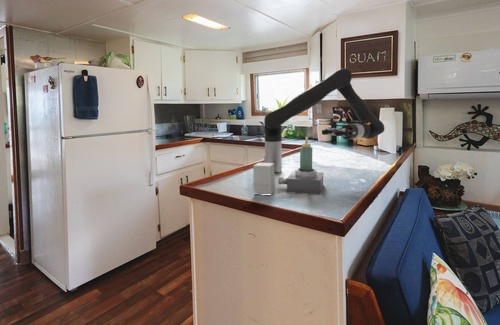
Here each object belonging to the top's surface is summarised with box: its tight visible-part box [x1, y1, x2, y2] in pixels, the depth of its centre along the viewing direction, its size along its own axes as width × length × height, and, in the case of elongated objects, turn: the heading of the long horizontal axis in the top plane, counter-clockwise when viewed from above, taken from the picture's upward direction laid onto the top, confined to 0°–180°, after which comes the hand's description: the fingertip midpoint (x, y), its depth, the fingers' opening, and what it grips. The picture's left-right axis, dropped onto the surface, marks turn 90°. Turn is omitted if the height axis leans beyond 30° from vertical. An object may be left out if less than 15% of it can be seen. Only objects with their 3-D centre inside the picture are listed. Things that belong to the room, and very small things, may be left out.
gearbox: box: [277, 167, 324, 195], centre depth 137 cm, size 19×16×8 cm
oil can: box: [299, 136, 313, 172], centre depth 135 cm, size 5×5×17 cm
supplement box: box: [252, 162, 276, 195], centre depth 131 cm, size 7×7×13 cm
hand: (329, 133), depth 144 cm, fingers open, 8 cm apart
